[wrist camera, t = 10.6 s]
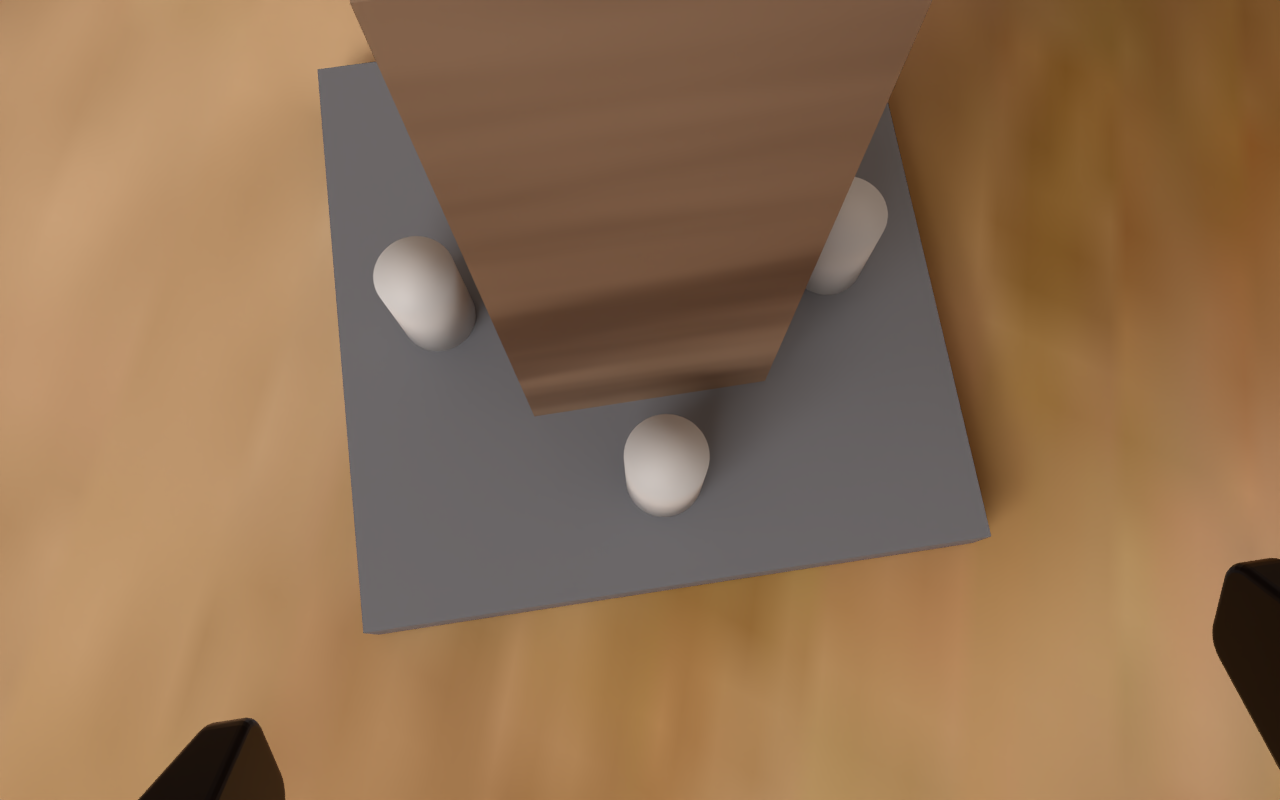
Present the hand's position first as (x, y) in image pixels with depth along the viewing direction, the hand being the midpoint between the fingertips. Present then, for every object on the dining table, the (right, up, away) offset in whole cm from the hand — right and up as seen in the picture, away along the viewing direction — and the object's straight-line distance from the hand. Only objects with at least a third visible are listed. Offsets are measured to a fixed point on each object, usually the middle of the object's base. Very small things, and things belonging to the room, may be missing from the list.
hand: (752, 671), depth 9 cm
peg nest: (-1, +5, +14) cm, 15 cm away
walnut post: (-1, +5, +13) cm, 14 cm away
